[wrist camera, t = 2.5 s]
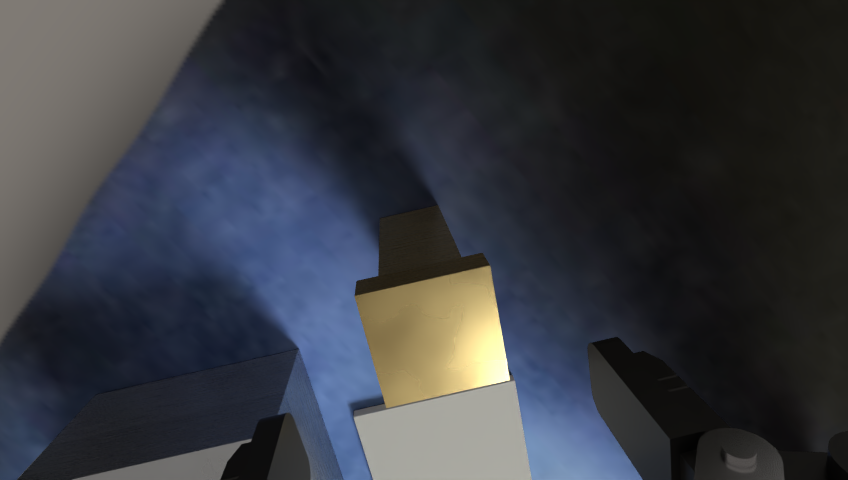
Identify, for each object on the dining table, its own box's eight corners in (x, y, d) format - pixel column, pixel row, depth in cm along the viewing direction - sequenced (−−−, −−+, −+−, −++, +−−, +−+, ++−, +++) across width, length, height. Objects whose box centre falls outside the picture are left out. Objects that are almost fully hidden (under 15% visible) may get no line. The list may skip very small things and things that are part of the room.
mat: (512, 374, 29) (514, 380, 28) (529, 473, 32) (531, 480, 31) (354, 410, 29) (353, 417, 28) (384, 506, 31) (384, 514, 31)
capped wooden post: (446, 192, 25) (489, 265, 15) (461, 266, 26) (509, 380, 16) (366, 210, 25) (354, 295, 15) (385, 283, 26) (386, 408, 16)
